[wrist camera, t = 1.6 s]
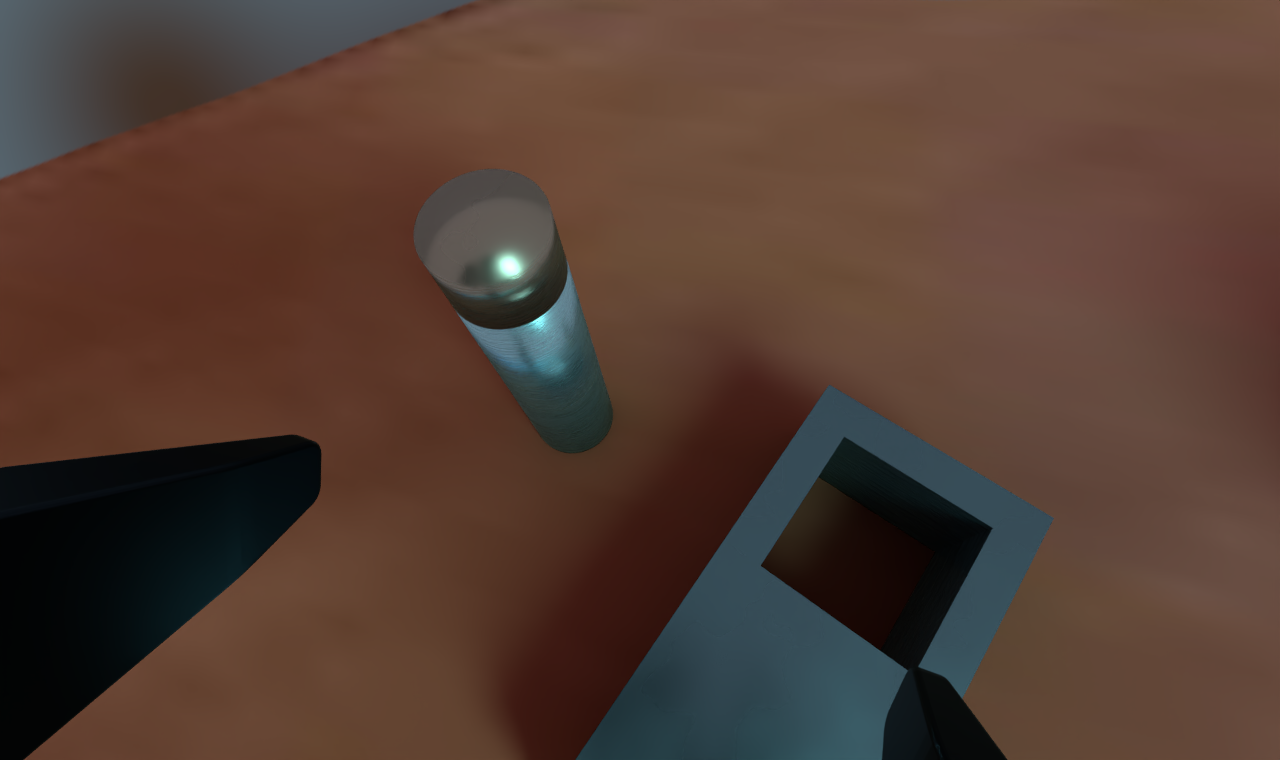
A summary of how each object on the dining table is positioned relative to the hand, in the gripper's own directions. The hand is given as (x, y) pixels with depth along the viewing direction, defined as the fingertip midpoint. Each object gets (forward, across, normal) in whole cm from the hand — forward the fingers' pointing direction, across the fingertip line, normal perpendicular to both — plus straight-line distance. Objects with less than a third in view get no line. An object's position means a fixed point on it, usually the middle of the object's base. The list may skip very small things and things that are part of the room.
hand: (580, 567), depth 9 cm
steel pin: (+14, +5, +5) cm, 16 cm away
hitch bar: (+10, -4, +9) cm, 14 cm away
